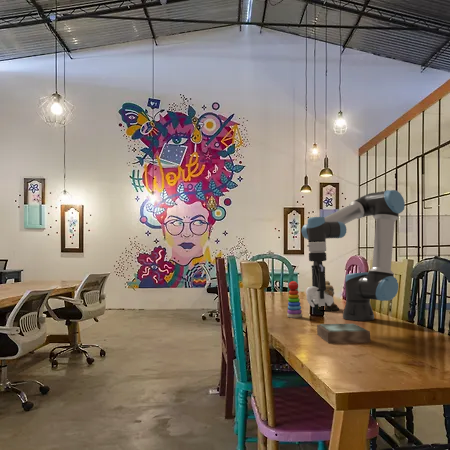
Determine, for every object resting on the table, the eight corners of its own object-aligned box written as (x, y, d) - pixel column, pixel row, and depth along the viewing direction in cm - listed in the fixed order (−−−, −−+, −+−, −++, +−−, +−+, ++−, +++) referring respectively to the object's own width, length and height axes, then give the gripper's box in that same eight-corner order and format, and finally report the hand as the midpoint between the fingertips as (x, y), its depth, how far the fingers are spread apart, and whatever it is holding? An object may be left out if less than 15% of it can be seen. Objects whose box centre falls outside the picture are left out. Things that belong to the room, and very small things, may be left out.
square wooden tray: (355, 333, 171) (355, 323, 171) (370, 342, 155) (369, 330, 155) (317, 334, 170) (317, 323, 171) (328, 343, 154) (327, 331, 155)
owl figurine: (339, 312, 231) (338, 282, 232) (317, 312, 234) (316, 282, 235) (339, 308, 248) (338, 279, 249) (319, 307, 251) (318, 279, 252)
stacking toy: (301, 315, 220) (300, 280, 221) (303, 318, 212) (302, 281, 213) (286, 315, 221) (286, 280, 222) (287, 318, 213) (286, 281, 214)
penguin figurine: (305, 285, 184) (333, 287, 182) (304, 304, 183) (332, 306, 181) (306, 286, 177) (335, 288, 176) (305, 306, 177) (334, 308, 175)
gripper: (304, 252, 190) (306, 302, 189) (314, 252, 171) (316, 308, 170) (320, 251, 190) (322, 301, 189) (332, 252, 171) (334, 308, 170)
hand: (319, 305), depth 179 cm, fingers closed on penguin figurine, 6 cm apart
